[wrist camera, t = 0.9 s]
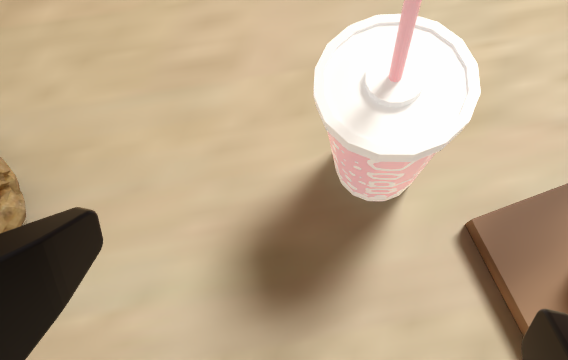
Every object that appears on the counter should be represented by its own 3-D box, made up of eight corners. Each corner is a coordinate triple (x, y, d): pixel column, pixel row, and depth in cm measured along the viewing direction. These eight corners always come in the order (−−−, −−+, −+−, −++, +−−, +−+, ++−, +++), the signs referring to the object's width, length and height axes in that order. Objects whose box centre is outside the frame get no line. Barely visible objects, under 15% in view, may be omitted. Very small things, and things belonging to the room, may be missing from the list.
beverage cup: (312, 202, 23) (274, 57, 10) (334, 108, 25) (328, -119, 12) (420, 225, 22) (537, 95, 9) (437, 126, 24) (556, -107, 11)
